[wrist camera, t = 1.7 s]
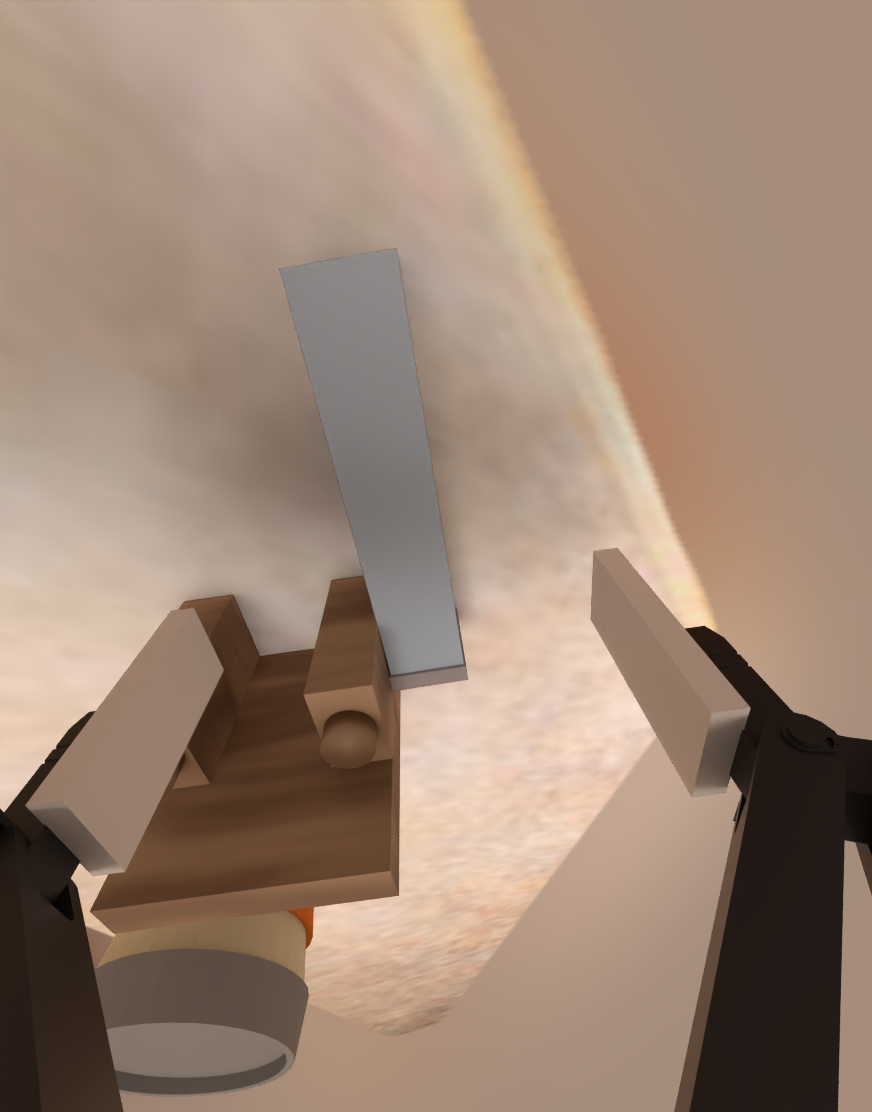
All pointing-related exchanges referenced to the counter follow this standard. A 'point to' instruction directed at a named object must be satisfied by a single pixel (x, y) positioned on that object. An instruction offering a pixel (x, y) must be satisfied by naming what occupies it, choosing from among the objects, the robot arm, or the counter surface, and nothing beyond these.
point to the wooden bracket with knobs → (275, 781)
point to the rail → (380, 455)
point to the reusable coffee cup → (206, 1003)
